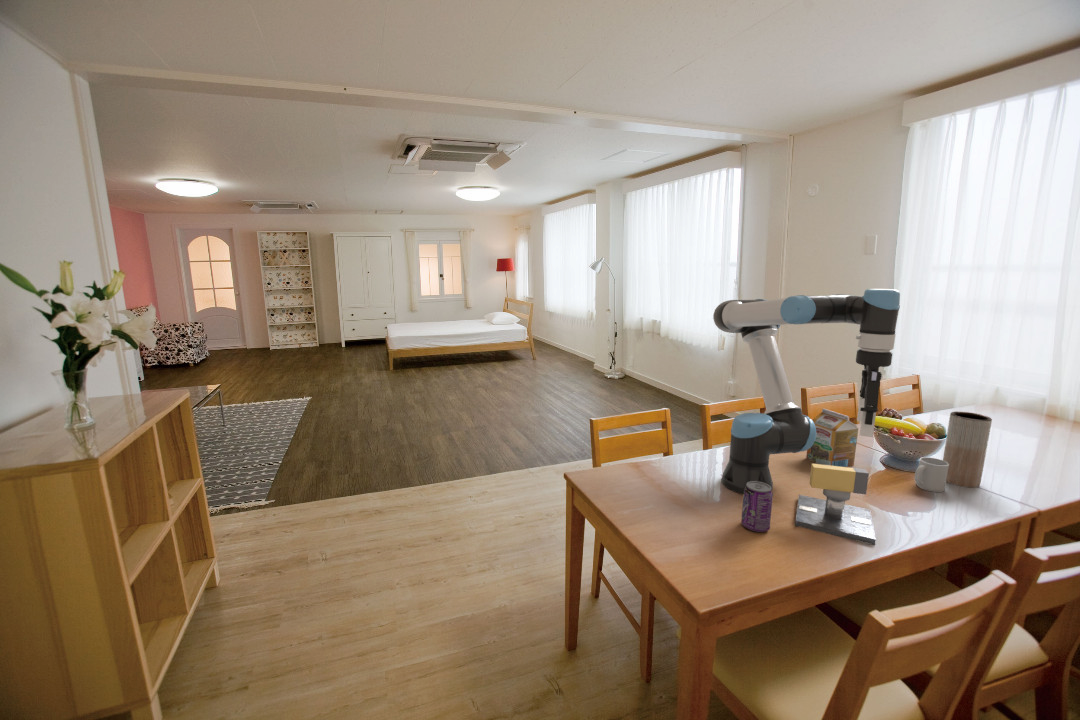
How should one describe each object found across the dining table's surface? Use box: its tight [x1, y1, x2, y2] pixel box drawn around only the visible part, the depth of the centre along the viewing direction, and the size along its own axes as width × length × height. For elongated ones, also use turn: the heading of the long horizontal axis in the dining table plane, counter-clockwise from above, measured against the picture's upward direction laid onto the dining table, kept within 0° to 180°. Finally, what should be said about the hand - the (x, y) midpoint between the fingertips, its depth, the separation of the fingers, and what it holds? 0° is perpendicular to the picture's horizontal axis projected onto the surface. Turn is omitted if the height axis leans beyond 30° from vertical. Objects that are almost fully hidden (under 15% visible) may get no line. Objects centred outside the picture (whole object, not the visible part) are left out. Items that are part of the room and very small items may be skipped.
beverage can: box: [740, 481, 774, 533], centre depth 127 cm, size 7×7×12 cm
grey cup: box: [914, 456, 949, 493], centre depth 151 cm, size 7×10×9 cm
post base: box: [794, 494, 877, 546], centre depth 131 cm, size 18×18×7 cm
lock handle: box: [809, 463, 870, 502], centre depth 130 cm, size 6×13×8 cm, turn 72°
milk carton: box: [805, 408, 859, 468], centre depth 171 cm, size 10×11×19 cm
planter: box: [942, 410, 993, 488], centre depth 154 cm, size 10×10×23 cm
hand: (864, 428), depth 125 cm, fingers open, 13 cm apart
